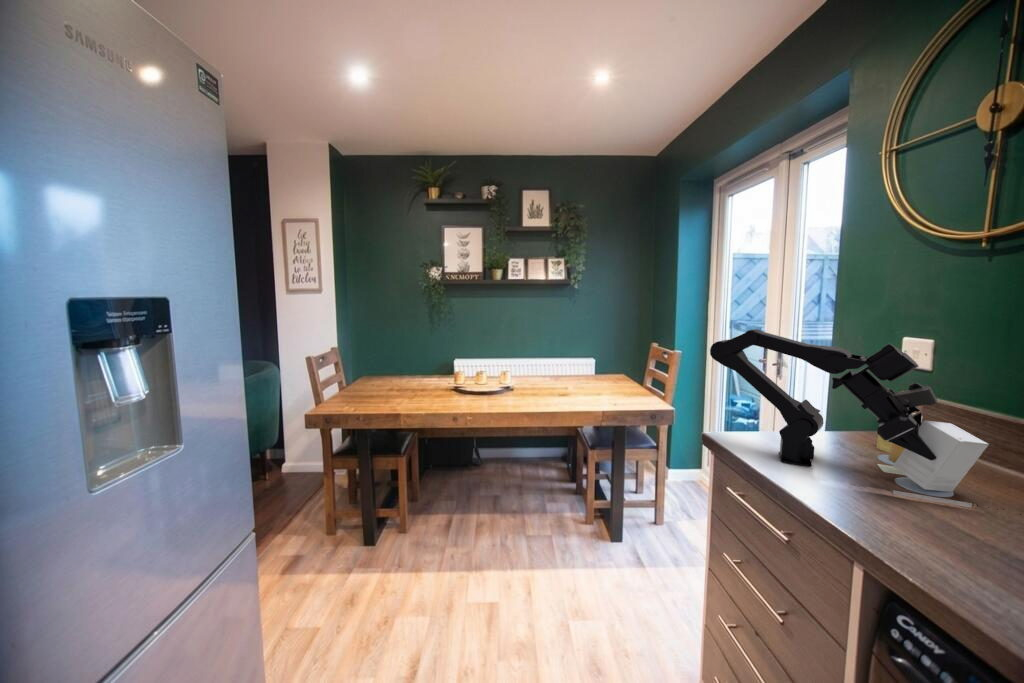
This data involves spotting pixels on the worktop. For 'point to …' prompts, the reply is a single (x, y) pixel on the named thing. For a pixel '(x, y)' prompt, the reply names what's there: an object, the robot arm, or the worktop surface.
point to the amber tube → (895, 451)
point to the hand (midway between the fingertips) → (934, 453)
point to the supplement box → (941, 456)
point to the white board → (917, 487)
